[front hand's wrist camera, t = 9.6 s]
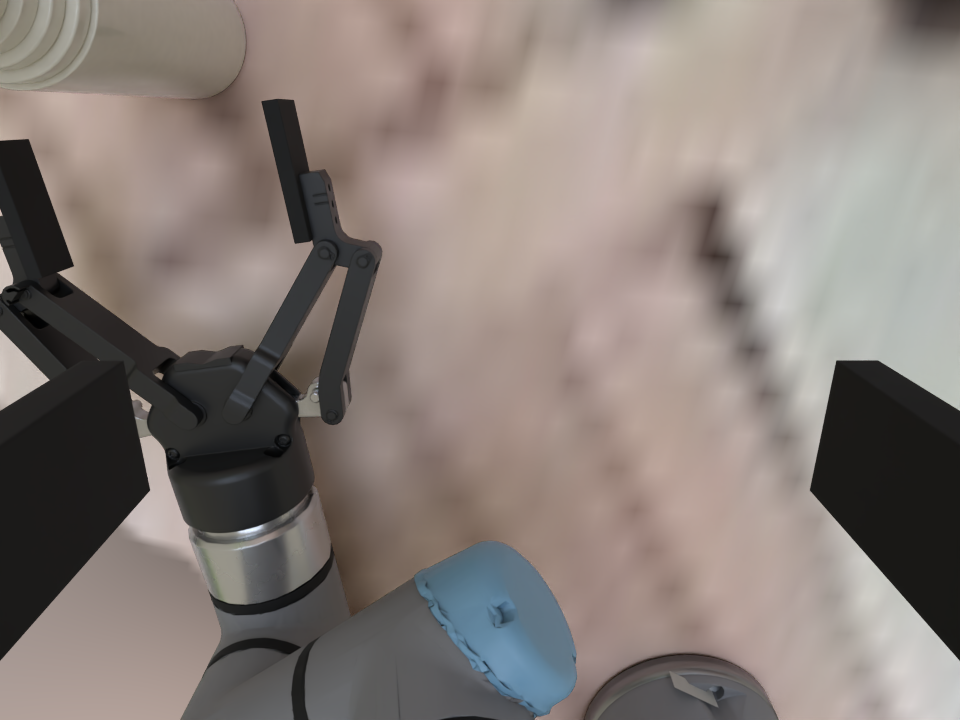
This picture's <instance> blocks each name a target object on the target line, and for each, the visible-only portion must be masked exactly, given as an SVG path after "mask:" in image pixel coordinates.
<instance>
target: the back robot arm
mask: <svg viewBox="0 0 960 720" xmlns="http://www.w3.org/2000/svg"><path fill="white" fill-rule="evenodd" d="M262 106H263V110H264V114H265V119H266V123H267V127H268V131H269V136H270V140H271V144H272V148H273V153H274V157H275V161H276V165H277V170H278V174H279V178H280V182H281V187H282V191H283V195H284V199H285V204H286V208H287V212H288V216H289V221H290V225H291V229H292V233H293V238H294V242H295V244H296V243H304V242H310V241H311V240H313V245H314V248H313V249H312V251H311V253H310V255H309V257H308V258H307V260H306V262H305V264H304V266H303V267H302V269H301V271H300V273H299V275H298V277H297V278H296V280H295V282H294V284H293V286H292V287H291V289H290V291H289V293H288V295H287V297H286V298H285V300H284V302H283V304H282V306H281V307H280V309H279V311H278V313H277V315H276V316H275V318H274V320H273V322H272V324H271V326H270V327H269V329H268V331H267V333H266V335H265V336H264V338H263V340H262V342H261V344H260V345H259V347H258V349H257V350H256V351H255V352H253V351H251V350H249V349H245V348H244V346H243V345H238V346H231V347H228V348H225V349H223V350H220V351H218V352H213V351H205V350H199V351H192V352H188V353H187V354H186V355H184V356H183V357H181V358H180V357H179V356H178V355H176V354H175V353H174V352H172V351H171V350H169V349H168V348H165V347H159V346H156V345H155V344H153V343H152V342H151V341H149V340H148V339H147V338H145V337H144V336H142V335H141V334H140V333H138V332H137V331H136V330H134V329H133V328H132V327H130V326H129V325H128V324H126V323H125V322H124V321H122V320H121V319H119V318H118V317H117V316H115V315H114V314H113V313H111V312H110V311H109V310H107V309H106V308H105V307H103V306H102V305H100V304H99V303H98V302H96V301H95V300H94V299H92V298H91V297H90V296H88V295H87V294H86V293H84V292H83V291H81V290H80V289H79V288H77V287H76V286H75V285H73V284H72V283H71V282H69V281H68V280H67V279H65V278H64V277H63V276H61V275H60V274H58V273H57V272H60V271H62V270H65V269H68V268H70V267H73V266H74V265H73V262H72V259H71V256H70V253H69V251H68V248H67V245H66V242H65V239H64V237H63V234H62V231H61V228H60V225H59V223H58V220H57V217H56V214H55V212H54V209H53V206H52V203H51V200H50V198H49V195H48V192H47V189H46V186H45V184H44V181H43V178H42V175H41V172H40V170H39V167H38V164H37V161H36V159H35V156H34V153H33V150H32V147H31V145H30V142H29V139H23V140H5V141H0V209H1V212H2V215H3V216H0V244H1V246H2V247H3V252H4V254H5V257H6V259H7V262H8V264H9V267H10V269H11V272H12V275H13V285H10V286H7V287H5V288H4V289H3V291H2V293H1V294H0V330H1V331H2V332H3V333H4V334H5V335H6V336H7V337H8V338H9V339H10V340H11V341H12V342H13V343H14V344H15V345H16V346H17V347H18V348H19V349H20V350H21V351H22V352H23V353H24V354H25V355H26V356H27V357H28V358H29V359H30V360H31V361H32V362H33V363H34V364H35V365H36V366H37V367H38V368H39V369H40V371H41V372H42V373H43V374H44V375H45V376H46V377H47V378H48V379H49V380H51V379H53V378H54V377H56V376H58V375H59V374H61V373H63V372H64V371H66V370H67V369H69V368H71V367H72V366H74V365H76V364H77V363H79V362H80V361H99V360H100V361H124V365H125V370H126V375H127V380H128V385H129V389H131V390H132V391H133V392H135V393H136V394H138V395H139V396H140V397H142V398H143V399H145V400H146V401H148V402H149V403H150V404H152V406H151V409H150V411H149V412H147V411H145V410H143V409H142V403H141V402H140V401H139V400H134V401H133V400H132V404H133V409H134V414H135V419H136V424H137V429H138V434H139V438H141V437H146V436H150V435H152V436H153V437H155V438H156V439H157V440H158V441H159V443H160V444H161V445H162V447H163V448H164V450H165V453H166V461H167V471H168V476H169V479H170V482H171V484H172V487H173V490H174V493H175V496H176V499H177V502H178V505H179V507H180V510H181V513H182V516H183V519H184V521H185V522H186V523H187V524H188V525H189V529H188V531H189V539H190V542H191V544H192V547H193V550H194V552H195V555H196V558H197V560H198V563H199V566H200V568H201V571H202V574H203V577H204V579H205V582H206V585H207V587H208V591H209V593H210V596H211V600H212V602H213V605H214V608H215V611H216V614H217V617H218V620H219V624H220V627H221V640H220V643H219V645H218V647H217V649H216V651H215V653H214V654H213V656H212V658H211V660H210V662H209V664H208V666H207V669H206V670H205V672H204V675H203V677H202V679H201V681H200V683H199V685H198V687H197V688H196V690H195V692H194V694H193V696H192V698H191V700H190V702H189V704H188V706H187V708H186V710H185V712H184V714H183V716H182V718H181V720H535V718H536V717H537V716H543V715H547V714H549V713H550V709H551V708H552V706H554V705H555V704H557V703H558V702H560V701H562V700H563V699H565V698H566V697H568V695H569V694H570V693H571V692H572V690H573V688H574V687H575V683H576V679H577V672H576V666H575V663H576V650H575V645H574V642H573V638H572V635H571V632H570V629H569V627H568V624H567V622H566V619H565V617H564V615H563V613H562V610H561V608H560V606H559V604H558V603H557V601H556V599H555V597H554V595H553V594H552V592H551V590H550V589H549V587H548V585H547V584H546V582H545V581H544V580H543V578H542V577H541V575H540V574H539V573H538V571H537V570H536V569H535V568H534V567H533V566H532V565H531V564H530V563H529V562H528V560H526V559H525V558H524V557H523V556H522V555H521V554H519V553H518V552H517V551H516V550H515V549H513V548H512V547H510V546H508V545H506V544H504V543H501V542H497V541H483V542H480V543H477V544H475V545H473V546H471V547H469V548H467V549H465V550H463V551H461V552H459V553H457V554H455V555H453V556H451V557H449V558H447V559H445V560H443V561H441V562H439V563H437V564H435V565H433V566H431V567H429V568H427V569H422V570H421V571H419V572H418V573H417V574H415V575H414V578H412V579H410V580H409V581H407V582H406V583H404V584H403V585H401V586H399V587H398V588H396V589H395V590H393V591H391V592H390V593H388V594H387V595H385V596H384V597H382V598H380V599H379V600H377V601H376V602H374V603H373V604H371V605H369V606H368V607H366V608H365V609H363V610H361V611H360V612H358V613H357V614H355V615H354V616H352V617H351V615H350V611H349V607H348V604H347V600H346V596H345V593H344V589H343V585H342V581H341V578H340V574H339V570H338V567H337V563H336V559H335V555H334V552H333V548H332V544H331V539H330V536H329V532H328V528H327V524H326V520H325V516H324V512H323V508H322V504H321V501H320V497H319V493H318V489H317V488H316V487H315V486H314V484H313V483H314V478H315V477H314V472H313V468H312V464H311V460H310V456H309V452H308V448H307V444H306V440H305V436H304V433H303V430H302V427H301V425H300V417H322V419H323V421H324V422H325V423H327V424H330V425H336V424H338V423H340V422H341V420H342V419H343V417H344V415H345V412H346V410H347V408H348V406H349V404H350V402H351V387H350V377H349V367H350V364H351V360H352V357H353V353H354V350H355V347H356V343H357V340H358V336H359V333H360V329H361V326H362V322H363V319H364V316H365V312H366V309H367V305H368V302H369V298H370V295H371V292H372V288H373V285H374V281H375V278H376V274H377V271H378V267H379V264H380V261H381V257H382V249H381V246H380V245H379V244H378V243H377V242H375V241H362V240H357V239H353V238H350V237H348V236H347V235H346V234H345V233H344V232H343V230H342V228H341V225H340V221H339V216H338V211H337V206H336V201H335V197H334V192H333V187H332V182H331V179H330V177H329V175H328V174H327V172H326V171H325V169H324V170H317V171H310V172H309V167H308V162H307V158H306V153H305V149H304V144H303V140H302V135H301V130H300V126H299V121H298V117H297V112H296V108H295V103H294V100H286V99H274V100H267V101H262ZM337 265H338V266H343V267H347V268H348V272H347V275H346V279H345V283H344V286H343V290H342V294H341V297H340V301H339V305H338V308H337V312H336V316H335V319H334V323H333V327H332V330H331V334H330V338H329V341H328V345H327V348H326V352H325V356H324V359H323V363H322V367H321V370H320V375H319V377H316V378H315V379H314V380H313V381H312V383H311V384H310V386H309V388H308V391H307V393H305V394H301V393H300V391H299V390H298V389H297V388H296V387H295V386H294V385H292V384H291V383H290V382H289V381H288V380H287V379H286V378H284V377H283V376H282V375H281V374H280V373H279V372H278V369H279V367H280V365H281V364H282V362H283V360H284V358H285V357H286V355H287V353H288V351H289V350H290V348H291V346H292V343H293V341H294V339H295V338H296V336H297V334H298V332H299V331H300V329H301V327H302V325H303V324H304V322H305V320H306V318H307V317H308V315H309V313H310V311H311V310H312V308H313V306H314V304H315V303H316V301H317V299H318V297H319V295H320V294H321V292H322V290H323V288H324V287H325V285H326V283H327V281H328V280H329V278H330V276H331V274H332V273H333V271H334V269H335V267H336V266H337ZM98 359H99V360H98ZM156 373H162V374H164V376H163V378H162V380H160V379H159V378H158V377H156V376H155V374H156ZM584 720H778V717H777V715H776V713H775V711H774V709H773V706H772V704H771V702H770V700H769V698H768V696H767V694H766V693H765V691H764V689H763V688H762V686H761V685H760V684H759V683H758V682H757V681H756V679H755V678H753V677H752V676H751V675H750V674H749V673H747V672H746V671H744V670H743V669H741V668H739V667H737V666H736V665H733V664H731V663H729V662H726V661H723V660H720V659H716V658H712V657H706V656H699V655H676V656H668V657H662V658H657V659H653V660H650V661H647V662H643V663H641V664H638V665H636V666H633V667H632V668H630V669H628V670H626V671H624V672H622V673H621V674H619V675H617V676H616V677H615V678H613V679H612V680H611V681H609V682H608V683H607V684H606V685H605V686H604V687H603V688H602V689H601V690H600V691H599V692H598V694H597V695H596V696H595V698H594V699H593V701H592V702H591V704H590V706H589V708H588V710H587V713H586V716H585V719H584Z"/></svg>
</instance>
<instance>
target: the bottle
mask: <svg viewBox="0 0 960 720" xmlns="http://www.w3.org/2000/svg"><path fill="white" fill-rule="evenodd" d="M245 52H246V34H245V28H244V24H243V20H242V17H241V15H240V12H239V10H238V8H237V6H236V4H235V2H234V1H233V0H0V88H4V89H9V90H19V91H37V92H57V93H77V94H98V95H118V96H138V97H158V98H178V99H204V98H208V97H211V96H214V95H216V94H218V93H220V92H222V91H223V90H225V89H226V88H227V87H228V86H229V85H230V84H231V83H232V82H233V81H234V80H235V78H236V77H237V75H238V73H239V71H240V69H241V67H242V64H243V61H244V57H245Z"/></svg>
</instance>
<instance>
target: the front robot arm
mask: <svg viewBox="0 0 960 720" xmlns="http://www.w3.org/2000/svg"><path fill="white" fill-rule="evenodd" d="M149 491H150V487H149V483H148V478H147V473H146V468H145V463H144V458H143V453H142V448H141V443H140V439H139V434H138V429H137V424H136V419H135V414H134V409H133V404H132V399H131V395H130V390H129V385H128V380H127V375H126V370H125V365H124V361H80V362H79V363H77V364H76V365H74V366H72V367H71V368H69V369H67V370H66V371H64V372H63V373H61V374H59V375H58V376H56V377H54V378H53V379H51V380H50V381H48V382H46V383H45V384H43V385H42V386H40V387H38V388H37V389H35V390H33V391H32V392H30V393H29V394H27V395H25V396H24V397H22V398H20V399H19V400H17V401H16V402H14V403H12V404H11V405H9V406H7V407H6V408H4V409H3V410H1V411H0V660H1V659H2V658H3V657H4V656H5V655H6V653H7V652H8V651H9V650H10V649H11V648H12V647H13V646H14V644H15V643H16V642H17V641H18V640H19V639H20V638H21V636H22V635H23V634H24V633H25V632H26V631H27V630H28V628H29V627H30V626H31V625H32V624H33V623H34V622H35V621H36V619H37V618H38V617H39V616H40V615H41V614H42V613H43V611H44V610H45V609H46V608H47V607H48V606H49V605H50V603H51V602H52V601H53V600H54V599H55V598H56V597H57V596H58V594H59V593H60V592H61V591H62V590H63V589H64V588H65V586H66V585H67V584H68V583H69V582H70V581H71V580H72V578H73V577H74V576H75V575H76V574H77V573H78V572H79V570H80V569H81V568H82V567H83V566H84V565H85V564H86V563H87V561H88V560H89V559H90V558H91V557H92V556H93V555H94V553H95V552H96V551H97V550H98V549H99V548H100V547H101V546H102V544H103V543H104V542H105V541H106V540H107V539H108V538H109V536H110V535H111V534H112V533H113V532H114V531H115V530H116V528H117V527H118V526H119V525H120V524H121V523H122V522H123V521H124V519H125V518H126V517H127V516H128V515H129V514H130V513H131V511H132V510H133V509H134V508H135V507H136V506H137V505H138V503H139V502H140V501H141V500H142V499H143V498H144V497H145V496H146V494H147V493H148V492H149ZM810 491H811V492H812V493H813V494H814V496H815V497H816V498H817V499H818V500H819V501H820V502H821V503H822V505H823V506H824V507H825V508H826V509H827V510H828V511H829V513H830V514H831V515H832V516H833V517H834V518H835V519H836V521H837V522H838V523H839V524H840V525H841V526H842V527H843V528H844V530H845V531H846V532H847V533H848V534H849V535H850V536H851V538H852V539H853V540H854V541H855V542H856V543H857V544H858V546H859V547H860V548H861V549H862V550H863V551H864V552H865V553H866V555H867V556H868V557H869V558H870V559H871V560H872V561H873V563H874V564H875V565H876V566H877V567H878V568H879V569H880V571H881V572H882V573H883V574H884V575H885V576H886V577H887V578H888V580H889V581H890V582H891V583H892V584H893V585H894V586H895V588H896V589H897V590H898V591H899V592H900V593H901V594H902V596H903V597H904V598H905V599H906V600H907V601H908V602H909V603H910V605H911V606H912V607H913V608H914V609H915V610H916V611H917V613H918V614H919V615H920V616H921V617H922V618H923V619H924V621H925V622H926V623H927V624H928V625H929V626H930V627H931V628H932V630H933V631H934V632H935V633H936V634H937V635H938V636H939V638H940V639H941V640H942V641H943V642H944V643H945V644H946V646H947V647H948V648H949V649H950V650H951V651H952V652H953V653H954V655H955V656H956V657H957V658H958V659H959V660H960V411H959V410H957V409H956V408H954V407H953V406H951V405H949V404H948V403H946V402H944V401H943V400H941V399H940V398H938V397H936V396H935V395H933V394H931V393H930V392H928V391H927V390H925V389H923V388H922V387H920V386H918V385H917V384H915V383H914V382H912V381H910V380H909V379H907V378H906V377H904V376H902V375H901V374H899V373H897V372H896V371H894V370H893V369H891V368H889V367H888V366H886V365H884V364H883V363H881V362H880V361H836V365H835V370H834V375H833V380H832V385H831V390H830V394H829V399H828V404H827V409H826V414H825V419H824V424H823V429H822V434H821V439H820V443H819V448H818V453H817V458H816V463H815V468H814V473H813V478H812V483H811V487H810Z"/></svg>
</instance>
